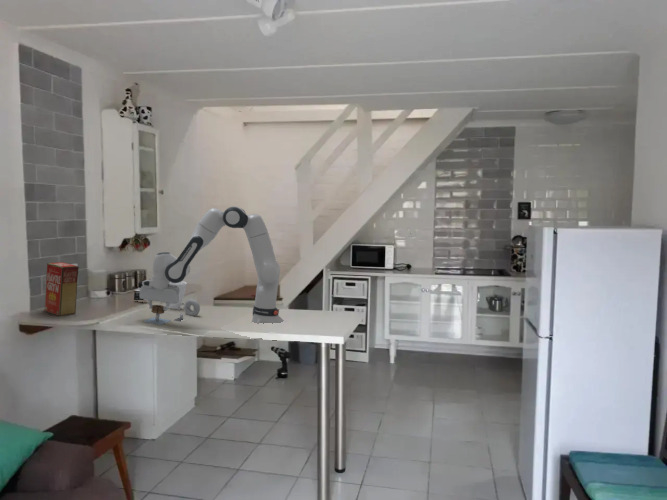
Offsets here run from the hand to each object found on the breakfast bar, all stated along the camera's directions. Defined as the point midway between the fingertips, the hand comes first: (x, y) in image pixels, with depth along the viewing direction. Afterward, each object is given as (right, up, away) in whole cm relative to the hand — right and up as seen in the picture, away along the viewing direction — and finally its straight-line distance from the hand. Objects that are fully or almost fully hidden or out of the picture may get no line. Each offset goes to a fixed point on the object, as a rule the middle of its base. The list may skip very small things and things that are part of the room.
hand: (158, 309), depth 255 cm
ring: (0, -1, 0) cm, 1 cm away
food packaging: (-50, -1, -1) cm, 50 cm away
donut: (+11, -7, +21) cm, 25 cm away
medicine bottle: (-24, 0, +42) cm, 48 cm away
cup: (-3, -4, +33) cm, 33 cm away
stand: (+9, -8, +9) cm, 15 cm away
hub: (-1, -7, +1) cm, 7 cm away
